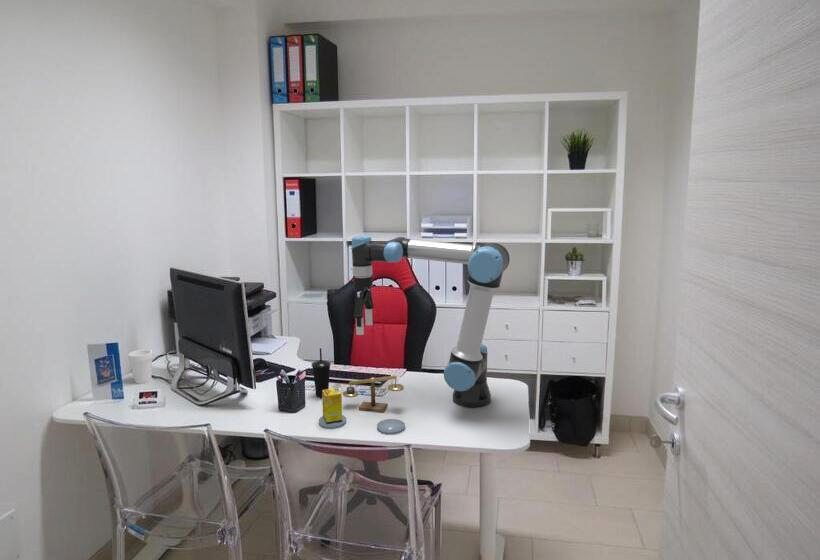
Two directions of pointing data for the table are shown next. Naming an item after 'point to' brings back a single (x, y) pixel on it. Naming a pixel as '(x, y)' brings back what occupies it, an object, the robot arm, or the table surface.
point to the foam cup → (141, 365)
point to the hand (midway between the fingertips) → (364, 329)
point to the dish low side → (333, 425)
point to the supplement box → (332, 405)
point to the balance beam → (392, 387)
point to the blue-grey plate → (391, 426)
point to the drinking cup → (321, 375)
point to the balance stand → (373, 403)
